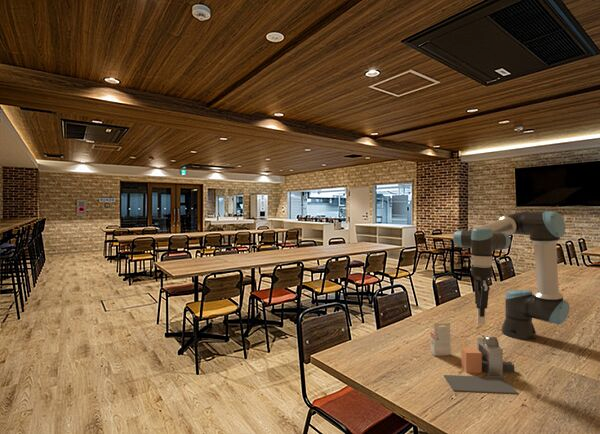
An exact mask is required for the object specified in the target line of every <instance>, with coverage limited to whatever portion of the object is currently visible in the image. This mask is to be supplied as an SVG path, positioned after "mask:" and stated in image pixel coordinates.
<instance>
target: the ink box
mask: <svg viewBox="0 0 600 434" xmlns="http://www.w3.org/2000/svg"><path fill="white" fill-rule="evenodd" d="M433 326H434V327H433V328H434V331H430V354H431V355H432V356H434V357H439V356H440V357H441V356H443V357H444V356H451V353H452V351H451V348H452V347H451V345H452V344H451V341H452V340H451V338H452V336H451V322H447V323H434V325H433Z"/></svg>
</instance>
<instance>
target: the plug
mask: <svg viewBox="0 0 600 434" xmlns="http://www.w3.org/2000/svg"><path fill="white" fill-rule="evenodd" d="M460 358H461V361H460V363H461V366H460V367H461V368H462V370H464V371H465V373H469V374H470V373H473V374H474V373H475V374H481V373H482V372H485V373H487V361H482V353H481V352H480V351H479V350H478V349H477V347H461V357H460ZM503 373H512V374H513V373H515V364H514V363H513V362H512V361H503Z"/></svg>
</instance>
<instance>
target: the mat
mask: <svg viewBox="0 0 600 434" xmlns="http://www.w3.org/2000/svg"><path fill="white" fill-rule="evenodd" d="M443 377H444V379H445V380H446V382H447V383H448V385H449V386H450V388H451V389H452V391H453V392H462V393H463V392H466V393H467V392H470V393H484V394H485V393H488V394H513V395H518V394H519V392H518V391H517V390H516V389H515V388H514V387H513V386H512V385H511V384H510V383H509V382H508V381H507V380H506V379H505V377H489V376H481V375H480V376H478V375H477V376H476V375H473V376H472V375H452V374H448V375H447V374H444V375H443Z"/></svg>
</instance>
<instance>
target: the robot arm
mask: <svg viewBox="0 0 600 434" xmlns="http://www.w3.org/2000/svg"><path fill="white" fill-rule="evenodd" d="M565 231H566V221H565V219H564V217H563V216H562V215H561V214H560V213H559V212H558V211H557V212H556V211H545V210H544V211H543V210H541V211H520V212H519V211H518V212H515V213H511V214H508V215H505V216H504V215H503V216H502V217H499V218H498V219H497V220H495V221H492V222H490V223H487V224H483V225H480V226H477V227H474V228H472V229H468V230H463V229H461V230H456V231H455V232H454V233H453V237H452V239H453V240H452V241H453V244H454V246H456V247H461V248H470V250H471V253H470V254H471V255H470V256H471V257H469V260H471V261H470V262H471V266H470V274H471V276H473V277H475V279H473V284H474V286H473V287H474V288H473V289H474V300H475V301H474V303H475V304H476V306H475V307H476V323H477V324H478V325H486V309H488V305H489V304H488V303H489V295H490V294H489V292H490V286H489V281H488V278H491V277H492V276H493V267H492V266H493V251H503V250H506V249H508V248H509V247H510V246H511V242H512V239H511V238H510V236H511V235H524V236H529V240H530V241H531V242H532V243H533V247H534V250H533V251H534V263H535V265H534V266H535V280H536V290H535V291H534V292H533V291H532V290H529V289H509V290H506V292H505V297H504V299H505V300H504V301H505V318H504V320H503V324H502V326H501V333H502V334H504V335H505V336H507V337H511V338H513V339H519V340H535V339H536V338H537V332H536V329H535V326H534V323H533V319H534V320H538V321H542V322H546V323H549V324H554V325H562V324H563V323H565V321H566V320H567V319H568V316H569V313H570V303H569V302H568V301H567V300H564V295H563V294H562V293H560V289H559V273H558V253H557V244H558V243H559V241H560V240H561V237H564V235H565V233H566V232H565Z"/></svg>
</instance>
